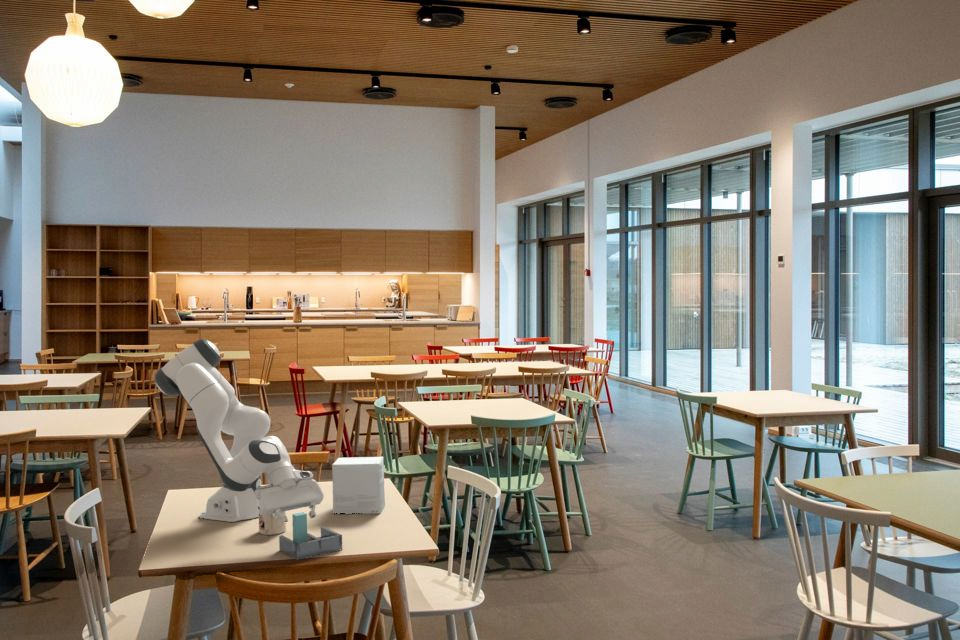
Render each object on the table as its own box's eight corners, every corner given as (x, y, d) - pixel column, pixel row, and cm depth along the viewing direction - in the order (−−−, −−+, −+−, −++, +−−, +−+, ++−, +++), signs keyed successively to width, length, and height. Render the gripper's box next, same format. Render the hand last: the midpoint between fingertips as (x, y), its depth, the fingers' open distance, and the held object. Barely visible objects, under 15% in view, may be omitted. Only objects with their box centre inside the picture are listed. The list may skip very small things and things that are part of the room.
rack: (279, 550, 250) (278, 535, 249) (323, 540, 259) (323, 526, 259) (296, 560, 240) (296, 545, 240) (342, 549, 249) (342, 535, 249)
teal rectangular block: (293, 547, 247) (292, 514, 246) (303, 544, 249) (303, 512, 249) (296, 549, 245) (296, 516, 245) (307, 546, 247) (306, 513, 247)
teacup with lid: (257, 529, 272) (256, 494, 272) (284, 526, 275) (284, 492, 275) (260, 539, 261) (259, 503, 260) (289, 536, 264) (288, 500, 264)
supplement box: (385, 504, 302) (384, 456, 301) (380, 514, 289) (380, 463, 288) (339, 505, 302) (338, 456, 302) (332, 514, 289) (331, 464, 288)
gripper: (255, 482, 248) (270, 520, 240) (316, 471, 260) (332, 507, 253) (250, 493, 251) (264, 532, 244) (310, 482, 264) (325, 519, 257)
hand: (299, 519), depth 249 cm, fingers open, 8 cm apart
